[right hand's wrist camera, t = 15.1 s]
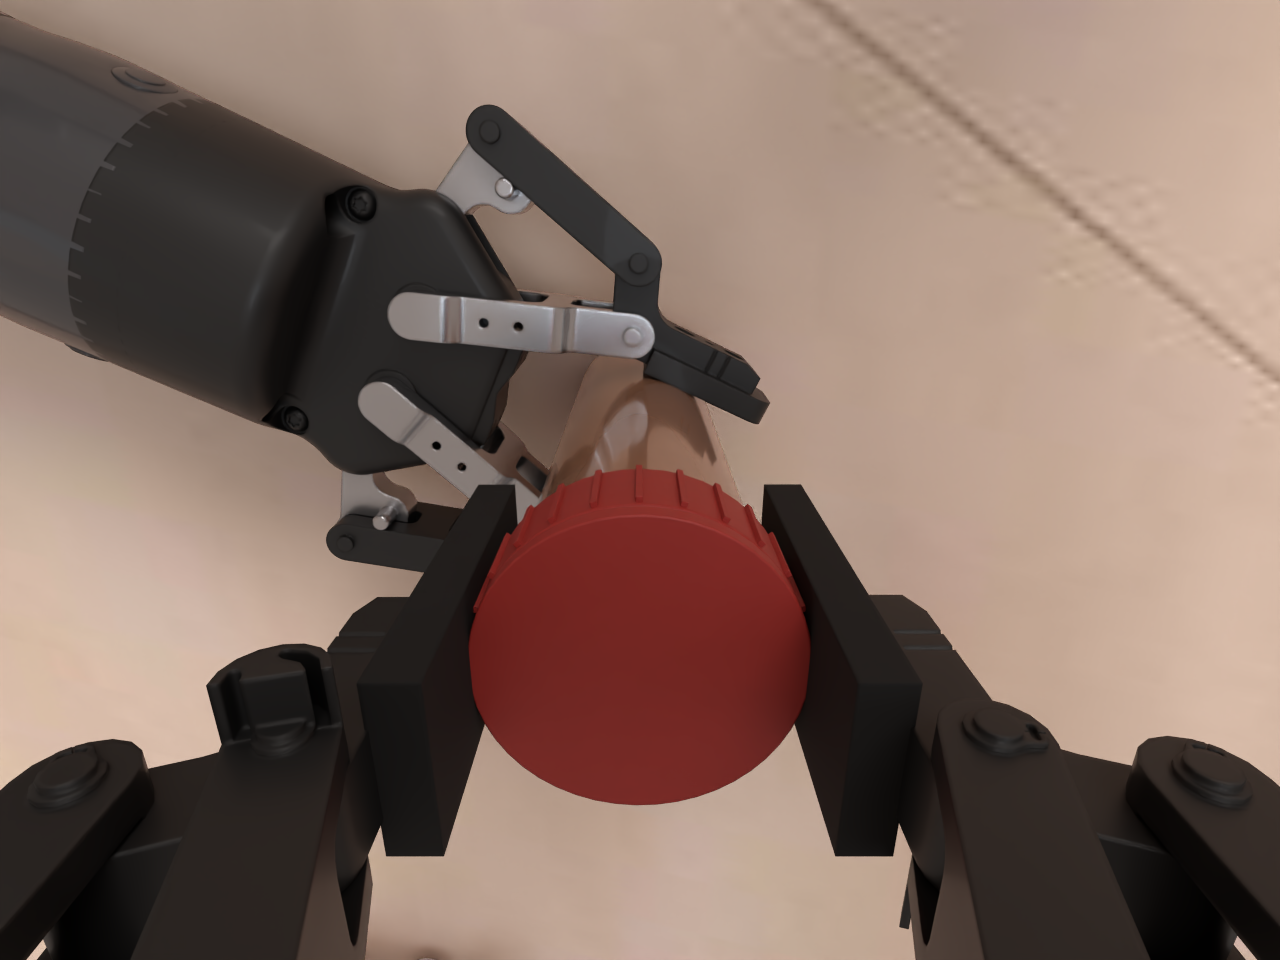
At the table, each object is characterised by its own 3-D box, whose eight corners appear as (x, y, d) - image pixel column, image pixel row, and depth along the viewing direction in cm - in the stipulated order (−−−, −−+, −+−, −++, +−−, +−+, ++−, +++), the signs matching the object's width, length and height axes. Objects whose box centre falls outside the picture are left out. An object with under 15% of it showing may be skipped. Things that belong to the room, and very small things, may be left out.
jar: (604, 470, 28) (559, 786, 12) (562, 362, 26) (448, 565, 11) (715, 434, 27) (814, 714, 12) (677, 321, 26) (735, 470, 10)
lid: (847, 632, 12) (883, 704, 11) (610, 771, 14) (605, 858, 12) (677, 399, 11) (683, 436, 9) (425, 576, 12) (386, 641, 10)
